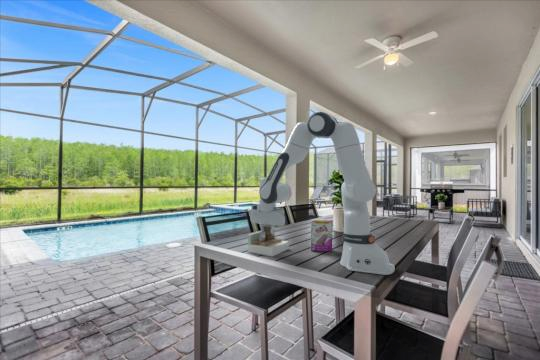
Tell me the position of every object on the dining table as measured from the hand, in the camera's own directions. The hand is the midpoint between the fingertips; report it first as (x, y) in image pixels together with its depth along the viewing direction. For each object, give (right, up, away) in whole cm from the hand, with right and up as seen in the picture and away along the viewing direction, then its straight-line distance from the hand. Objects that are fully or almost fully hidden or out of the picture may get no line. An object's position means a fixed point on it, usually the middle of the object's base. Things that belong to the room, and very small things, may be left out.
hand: (267, 232), depth 141 cm
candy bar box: (+29, -10, 0) cm, 31 cm away
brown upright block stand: (0, -5, 0) cm, 5 cm away
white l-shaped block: (+1, -9, -1) cm, 9 cm away
